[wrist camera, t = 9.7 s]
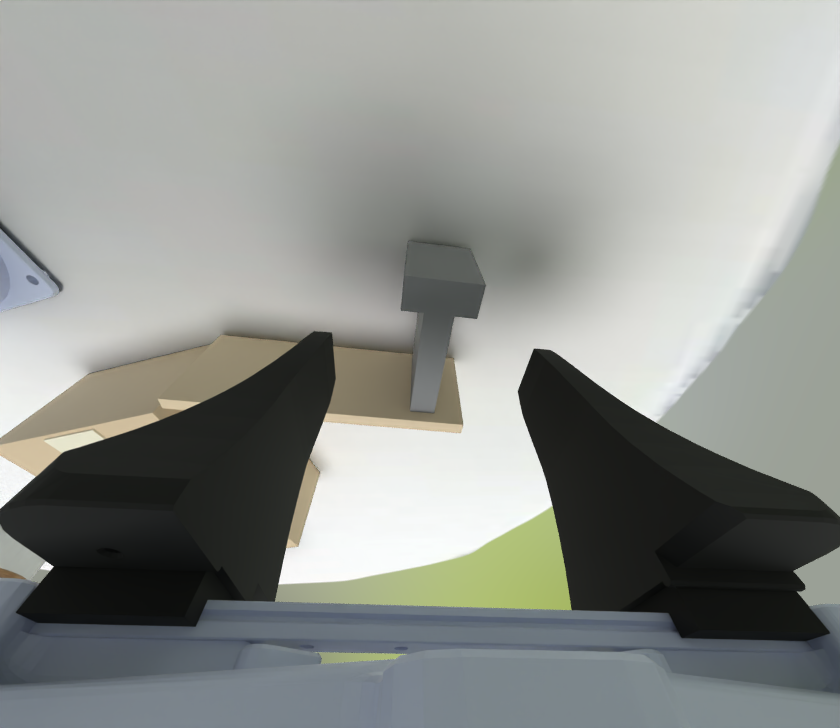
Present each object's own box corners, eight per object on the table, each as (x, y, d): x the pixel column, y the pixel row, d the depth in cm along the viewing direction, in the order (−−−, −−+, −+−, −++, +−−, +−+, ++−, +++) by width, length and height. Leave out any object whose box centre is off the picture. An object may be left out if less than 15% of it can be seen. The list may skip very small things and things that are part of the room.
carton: (88, 373, 21) (-15, 449, 16) (219, 341, 19) (150, 414, 14) (220, 489, 29) (178, 562, 24) (319, 473, 27) (297, 548, 22)
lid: (222, 343, 19) (162, 408, 14) (182, 209, 14) (76, 243, 10) (452, 365, 20) (460, 433, 15) (479, 247, 15) (502, 293, 11)
